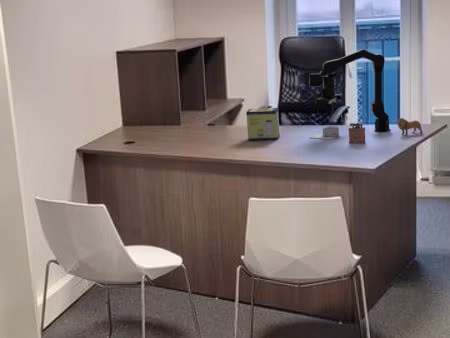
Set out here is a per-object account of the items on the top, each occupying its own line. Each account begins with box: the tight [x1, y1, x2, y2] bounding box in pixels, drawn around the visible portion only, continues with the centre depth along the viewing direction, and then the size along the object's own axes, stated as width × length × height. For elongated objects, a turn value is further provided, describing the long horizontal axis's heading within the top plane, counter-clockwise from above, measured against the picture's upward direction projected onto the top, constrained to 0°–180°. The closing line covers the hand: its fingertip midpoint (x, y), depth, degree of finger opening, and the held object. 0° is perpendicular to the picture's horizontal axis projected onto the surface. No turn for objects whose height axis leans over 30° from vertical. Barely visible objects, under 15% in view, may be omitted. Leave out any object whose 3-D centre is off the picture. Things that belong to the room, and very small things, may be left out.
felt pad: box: [309, 133, 340, 141], centre depth 368 cm, size 12×10×1 cm
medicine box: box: [322, 125, 340, 137], centre depth 368 cm, size 8×4×9 cm
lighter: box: [347, 122, 367, 145], centre depth 345 cm, size 8×3×10 cm, turn 71°
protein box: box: [245, 107, 281, 142], centre depth 374 cm, size 10×16×16 cm
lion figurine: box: [396, 117, 423, 136], centre depth 358 cm, size 15×5×9 cm, turn 114°
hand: (330, 115), depth 374 cm, fingers closed
